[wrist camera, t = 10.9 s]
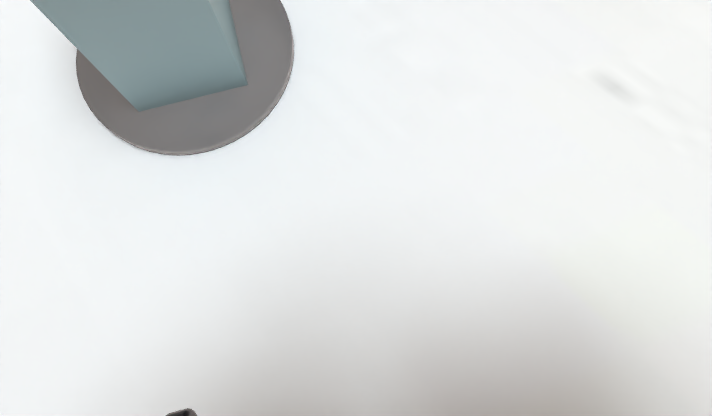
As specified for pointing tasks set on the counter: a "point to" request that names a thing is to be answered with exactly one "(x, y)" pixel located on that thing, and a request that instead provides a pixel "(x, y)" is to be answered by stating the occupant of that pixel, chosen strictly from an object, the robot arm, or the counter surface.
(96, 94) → the coaster
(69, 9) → the block
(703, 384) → the counter surface
